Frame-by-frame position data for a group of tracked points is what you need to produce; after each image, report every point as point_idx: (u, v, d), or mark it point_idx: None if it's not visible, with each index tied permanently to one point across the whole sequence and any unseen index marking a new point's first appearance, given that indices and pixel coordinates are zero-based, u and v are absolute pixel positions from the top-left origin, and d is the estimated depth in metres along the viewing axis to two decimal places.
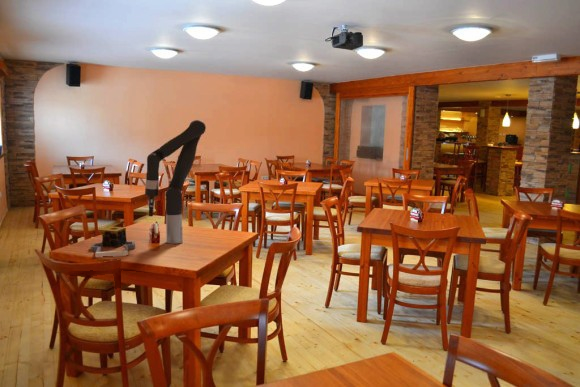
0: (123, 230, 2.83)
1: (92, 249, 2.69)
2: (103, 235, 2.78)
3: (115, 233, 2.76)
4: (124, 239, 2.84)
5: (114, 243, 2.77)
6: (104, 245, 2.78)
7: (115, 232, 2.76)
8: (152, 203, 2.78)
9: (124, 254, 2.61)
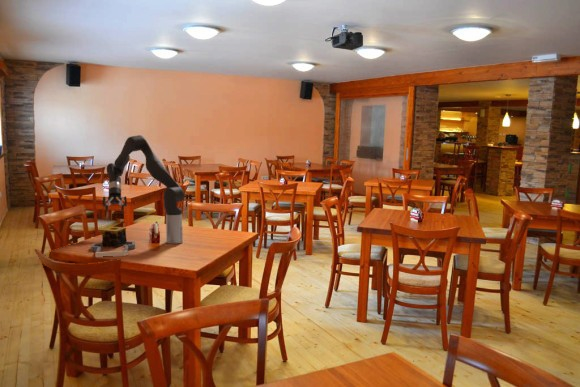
0: (123, 230, 2.83)
1: (92, 249, 2.69)
2: (103, 235, 2.78)
3: (116, 233, 2.76)
4: (124, 239, 2.84)
5: (114, 243, 2.77)
6: (104, 245, 2.78)
7: (115, 232, 2.76)
8: (103, 200, 3.02)
9: (124, 254, 2.61)
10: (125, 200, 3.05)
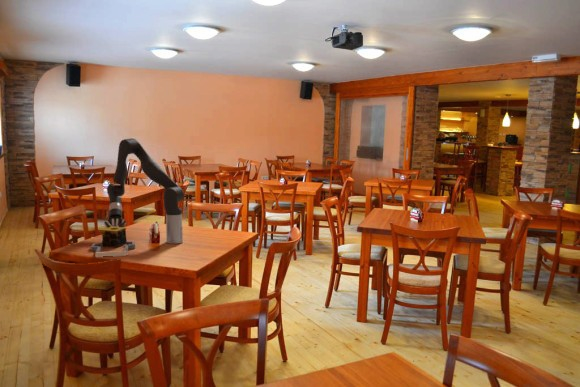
0: (123, 230, 2.83)
1: (92, 249, 2.69)
2: (103, 235, 2.78)
3: (115, 233, 2.76)
4: (124, 239, 2.84)
5: (114, 243, 2.77)
6: (104, 245, 2.78)
7: (115, 232, 2.76)
8: (106, 225, 2.90)
9: (124, 254, 2.61)
10: (122, 224, 2.92)
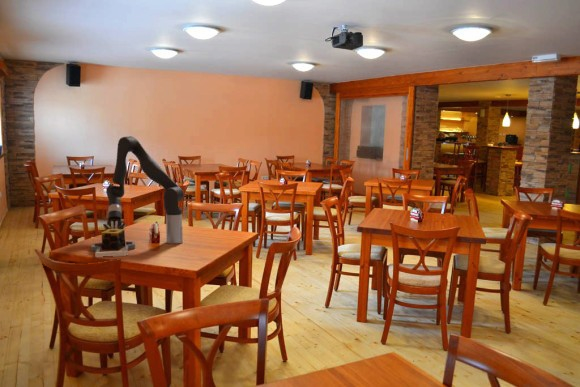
0: (122, 232, 2.78)
1: (92, 249, 2.69)
2: (103, 238, 2.71)
3: (116, 235, 2.71)
4: (123, 241, 2.79)
5: (115, 246, 2.71)
6: (104, 248, 2.72)
7: (116, 234, 2.70)
8: (105, 227, 2.84)
9: (124, 254, 2.61)
10: (121, 226, 2.86)
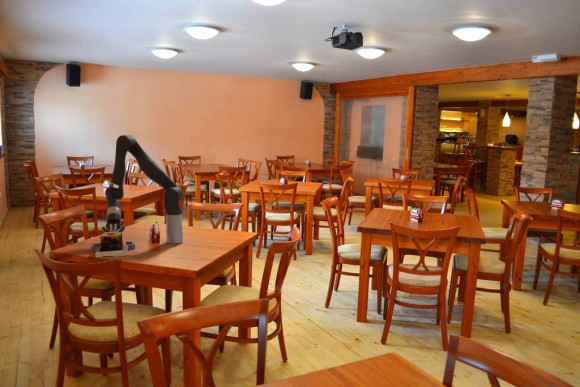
0: (120, 235, 2.71)
1: (92, 249, 2.69)
2: (102, 241, 2.63)
3: (117, 238, 2.64)
4: (121, 244, 2.72)
5: (115, 249, 2.64)
6: None
7: (116, 237, 2.64)
8: (104, 230, 2.76)
9: (124, 254, 2.61)
10: (120, 229, 2.78)
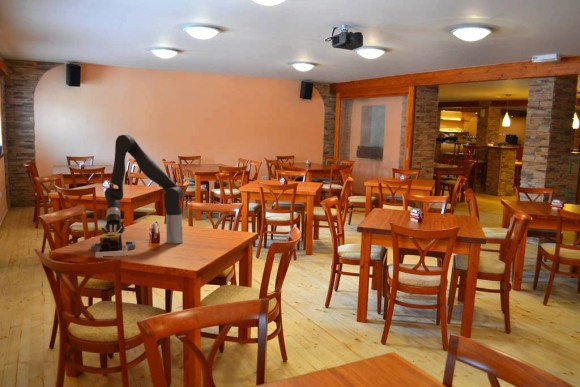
0: (120, 236, 2.69)
1: (92, 249, 2.69)
2: (101, 243, 2.60)
3: (117, 239, 2.61)
4: (121, 245, 2.70)
5: (115, 250, 2.62)
6: None
7: (116, 238, 2.61)
8: (103, 231, 2.73)
9: (124, 254, 2.61)
10: (120, 230, 2.75)
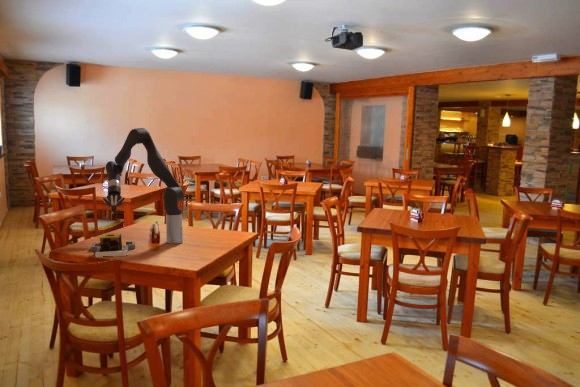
0: (120, 236, 2.69)
1: (92, 249, 2.69)
2: (101, 243, 2.60)
3: (117, 239, 2.61)
4: (121, 245, 2.70)
5: (115, 250, 2.62)
6: None
7: (116, 238, 2.61)
8: (105, 201, 2.91)
9: (124, 254, 2.61)
10: (120, 201, 2.93)
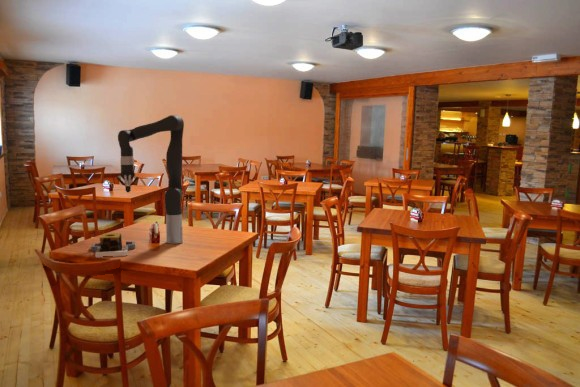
0: (120, 236, 2.69)
1: (92, 249, 2.69)
2: (101, 243, 2.60)
3: (117, 239, 2.61)
4: (121, 245, 2.70)
5: (115, 250, 2.62)
6: None
7: (116, 238, 2.61)
8: (119, 181, 2.91)
9: (124, 254, 2.61)
10: (134, 181, 2.93)
